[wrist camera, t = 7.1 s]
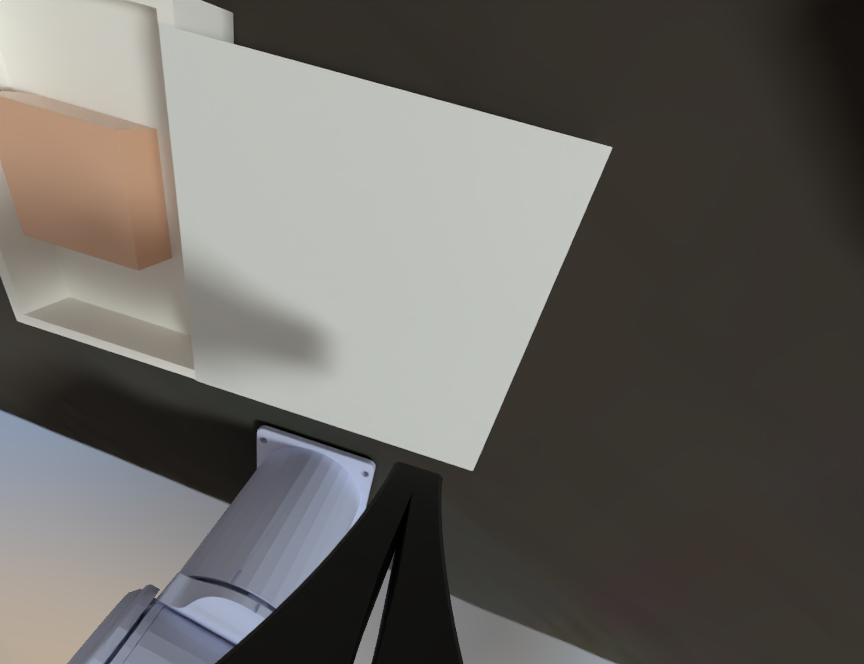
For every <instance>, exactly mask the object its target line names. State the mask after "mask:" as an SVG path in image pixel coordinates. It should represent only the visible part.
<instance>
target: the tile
mask: <svg viewBox="0 0 864 664" xmlns="http://www.w3.org/2000/svg"><path fill="white" fill-rule="evenodd" d="M0 162H1V165H2V168H3V171H4V174H5V178H6V181H7V184H8V187H9V190H10V193H11V196H12V200H13V203H14V206H15V209H16V212H17V215H18V219H19V222H20V225H21V228H22V231H23V234H24V235H26V236H29V237H33V238H36V239H39V240H42V241H45V242H49V243H52V244H55V245H58V246H61V247H64V248H68V249H71V250H74V251H77V252H80V253H84V254H87V255H90V256H93V257H96V258H100V259H103V260H106V261H109V262H112V263H116V264H119V265H122V266H125V267H128V268H132V269H135V270H138V271H140V270H142V269H145V268H147V267H150V266H152V265H155V264H158V263H160V262H163V261H165V260H168V259H171V258H172V253H171V245H170V236H169V228H168V219H167V211H166V203H165V194H164V186H163V178H162V169H161V161H160V152H159V144H158V136H157V129H155V128H151V127H148V126H144V125H141V124H137V123H134V122H131V121H127V120H124V119H120V118H117V117H113V116H110V115H106V114H103V113H100V112H96V111H93V110H89V109H86V108H82V107H79V106H75V105H72V104H69V103H65V102H62V101H58V100H55V99H51V98H48V97H44V96H41V95H38V94H34V93H24V92H9V91H0Z"/></svg>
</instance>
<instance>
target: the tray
mask: <svg viewBox="0 0 864 664" xmlns="http://www.w3.org/2000/svg"><path fill="white" fill-rule="evenodd" d="M159 24H162V25H166V26H169V27H173V28H177V29H180V30H184V31H188V32H191V33H195V34H199V35H202V36H206V37H210V38H213V39H217V40H221V41H224V42H228V43H232V44H234V33H233V13H232V12H229V11H227V10H224V9H222V8H219V7H217V6H214V5H212V4H209V3H207V2H204V1H201V0H0V91H9V92H24V93H34V94H38V95H41V96H44V97H48V98H51V99H55V100H58V101H62V102H65V103H69V104H72V105H75V106H79V107H82V108H86V109H89V110H93V111H96V112H100V113H103V114H106V115H110V116H113V117H117V118H120V119H124V120H127V121H131V122H134V123H137V124H141V125H144V126H148V127H151V128H155V129H157V136H158V144H159V152H160V161H161V169H162V178H163V186H164V194H165V203H166V211H167V219H168V228H169V236H170V245H171V253H172V258H171V259H168V260H165V261H163V262H160V263H158V264H155V265H152V266H150V267H147V268H145V269H142V270H140V271H138V270H135V269H132V268H128V267H125V266H122V265H119V264H116V263H112V262H109V261H106V260H103V259H100V258H96V257H93V256H90V255H87V254H84V253H80V252H77V251H74V250H71V249H68V248H64V247H61V246H58V245H55V244H52V243H49V242H45V241H42V240H39V239H36V238H33V237H29V236H26V235H24V234H23V231H22V228H21V225H20V222H19V219H18V215H17V212H16V209H15V206H14V203H13V200H12V196H11V193H10V190H9V187H8V184H7V181H6V178H5V174H4V171H3V168H2V165H1V162H0V276H1V279H2V282H3V284H4V287H5V290H6V292H7V295H8V298H9V300H10V303H11V306H12V309H13V311H14V314H15V317H16V319H17V321H19V322H22V323H25V324H28V325H31V326H34V327H37V328H40V329H43V330H46V331H49V332H52V333H56V334H59V335H62V336H65V337H68V338H71V339H74V340H77V341H80V342H83V343H86V344H89V345H92V346H95V347H98V348H101V349H105V350H108V351H111V352H114V353H117V354H120V355H123V356H126V357H129V358H132V359H135V360H138V361H141V362H144V363H147V364H150V365H154V366H157V367H160V368H163V369H166V370H169V371H172V372H175V373H178V374H181V375H184V376H187V377H190V378H193V379H196V377H195V368H194V358H193V349H192V339H191V330H190V320H189V311H188V301H187V291H186V282H185V272H184V263H183V253H182V244H181V234H180V225H179V215H178V206H177V196H176V187H175V177H174V167H173V158H172V148H171V139H170V129H169V120H168V110H167V101H166V91H165V82H164V72H163V63H162V53H161V43H160V34H159Z"/></svg>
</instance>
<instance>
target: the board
mask: <svg viewBox="0 0 864 664" xmlns="http://www.w3.org/2000/svg"><path fill="white" fill-rule="evenodd" d="M159 34H160V43H161V53H162V63H163V72H164V82H165V91H166V101H167V110H168V120H169V129H170V139H171V148H172V158H173V167H174V177H175V187H176V196H177V206H178V215H179V225H180V234H181V244H182V253H183V263H184V272H185V282H186V291H187V301H188V311H189V320H190V330H191V339H192V349H193V358H194V368H195V377H196V381H199V382H202V383H205V384H208V385H211V386H214V387H217V388H220V389H223V390H226V391H229V392H232V393H235V394H238V395H241V396H244V397H248V398H251V399H254V400H257V401H260V402H263V403H266V404H269V405H272V406H275V407H278V408H281V409H284V410H287V411H290V412H293V413H296V414H300V415H303V416H306V417H309V418H312V419H315V420H318V421H321V422H324V423H327V424H330V425H333V426H336V427H339V428H342V429H345V430H349V431H352V432H355V433H358V434H361V435H364V436H367V437H370V438H373V439H376V440H379V441H382V442H385V443H388V444H391V445H394V446H397V447H401V448H404V449H407V450H410V451H413V452H416V453H419V454H422V455H425V456H428V457H431V458H434V459H437V460H440V461H443V462H446V463H450V464H453V465H456V466H459V467H462V468H465V469H468V470H471V471H473V470H474V467H475V465H476V463H477V460H478V458H479V456H480V453H481V451H482V449H483V446H484V444H485V442H486V439H487V437H488V435H489V432H490V430H491V428H492V426H493V423H494V421H495V419H496V416H497V414H498V412H499V409H500V407H501V405H502V402H503V400H504V398H505V395H506V393H507V391H508V388H509V386H510V384H511V382H512V379H513V377H514V375H515V372H516V370H517V368H518V365H519V363H520V361H521V358H522V356H523V354H524V351H525V349H526V347H527V344H528V342H529V340H530V338H531V335H532V333H533V331H534V328H535V326H536V324H537V321H538V319H539V317H540V314H541V312H542V310H543V307H544V305H545V303H546V300H547V298H548V296H549V293H550V291H551V289H552V287H553V284H554V282H555V280H556V277H557V275H558V273H559V270H560V268H561V266H562V263H563V261H564V259H565V256H566V254H567V252H568V249H569V247H570V245H571V243H572V240H573V238H574V236H575V233H576V231H577V229H578V226H579V224H580V222H581V219H582V217H583V215H584V212H585V210H586V208H587V205H588V203H589V201H590V199H591V196H592V194H593V192H594V189H595V187H596V185H597V182H598V180H599V178H600V175H601V173H602V171H603V168H604V166H605V164H606V161H607V159H608V157H609V154H610V152H611V150H612V148H613V147H609V146H605V145H602V144H598V143H594V142H591V141H587V140H583V139H580V138H576V137H572V136H569V135H565V134H561V133H558V132H554V131H550V130H547V129H543V128H539V127H536V126H532V125H528V124H525V123H521V122H517V121H514V120H510V119H506V118H503V117H499V116H495V115H492V114H488V113H484V112H481V111H477V110H473V109H470V108H466V107H462V106H459V105H455V104H451V103H448V102H444V101H440V100H437V99H433V98H429V97H426V96H422V95H418V94H415V93H411V92H407V91H404V90H400V89H397V88H393V87H389V86H386V85H382V84H378V83H375V82H371V81H367V80H364V79H360V78H356V77H353V76H349V75H345V74H342V73H338V72H334V71H331V70H327V69H323V68H320V67H316V66H312V65H309V64H305V63H301V62H298V61H294V60H290V59H287V58H283V57H279V56H276V55H272V54H268V53H265V52H261V51H257V50H254V49H250V48H246V47H243V46H239V45H235V44H232V43H228V42H224V41H221V40H217V39H213V38H210V37H206V36H202V35H199V34H195V33H191V32H188V31H184V30H180V29H177V28H173V27H169V26H166V25H162V24H159Z"/></svg>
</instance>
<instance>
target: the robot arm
mask: <svg viewBox="0 0 864 664" xmlns="http://www.w3.org/2000/svg"><path fill="white" fill-rule="evenodd" d="M374 471H375V464H374V462H373V461H371V460H369V459H366V458H363V457H360V456H357V455H354V454H351V453H348V452H345V451H342V450H339V449H336V448H333V447H330V446H327V445H324V444H321V443H318V442H315V441H312V440H309V439H306V438H303V437H300V436H297V435H294V434H291V433H288V432H285V431H282V430H278V429H275V428H272V427H269V426H266V425H263V426H261V427H260V428H259V429H258V430H257V470H256V471H255V473H254V474H253V475H252V477H251V478H250V479H249V481H248V482H247V483H246V485H245V486H244V487H243V489H242V490H241V491H240V493H239V494H238V495H237V497H236V498H235V499H234V501H233V502H232V503H231V504H230V506H229V507H228V508H227V510H226V511H225V512H224V514H223V515H222V516H221V518H220V519H219V520H218V522H217V523H216V524H215V526H214V527H213V528H212V530H211V531H210V533H209V534H208V535H207V536H206V538H205V539H204V540H203V541H202V543H201V544H200V546H199V547H198V548H197V549H196V551H195V552H194V554H193V555H192V556H191V557H190V559H189V560H188V561H187V563H186V564H185V565H184V567H183V568H182V569H181V571H180V572H179V573H177V575H176V576H175V577H174V578H173V579H172V581H171V582H170V583H169V584H168V585H167V587H166V588H165V589H164V590H163V591H162V593H161V594H160V595H159V596H158V598H157V599H156V598H154V597H155V595H156V594H157V593H158V591H159V590H160V589H158V588H157V587H155V586H153V585H147V586H146V587H144V588H143V589H138V590H135V591H132V592H130V593H128V594H127V595H126V596H125V597H124V598H123V599H122V600H121V601H120V603H118V604H117V606H116V607H115V608H114V609H113V610H112V611H111V612H110V614H109V615H108V616H107V617H106V618H105V619H104V621H103V622H102V623H101V624H100V625H99V626H98V628H97V629H96V630H95V631H94V633H93V634H92V635H91V636H90V637H89V638H88V640H87V641H86V642H85V643H84V644H83V645H82V647H81V648H80V649H79V650H78V651H77V653H76V654H75V655H74V656H73V657H72V659H71V660H70V661H69V662H68V664H353V663H354V660H355V657H356V653H357V651H358V648H359V644H360V641H361V639H362V636H363V633H364V631H365V628H366V625H367V623H368V620H369V617H370V615H371V612H372V610H373V607H374V604H375V601H376V599H377V596H378V594H379V591H380V589H381V586H382V583H383V580H384V578H385V576H386V573H387V570H388V568H389V565H390V562H391V560H392V557H393V554H394V552H395V555H394V559H393V564H392V569H391V574H390V580H389V584H388V589H387V594H386V599H385V605H384V609H383V614H382V619H381V624H380V629H379V634H378V639H377V643H376V647H375V651H374V656H373V660H372V663H371V664H463V660H462V656H461V651H460V647H459V643H458V637H457V632H456V628H455V622H454V617H453V612H452V606H451V600H450V593H449V587H448V580H447V573H446V565H445V556H444V546H443V535H442V517H441V491H442V480H443V478H442V477H441V475H440V474H437V473H433V472H430V471H427V470H424V469H421V468H418V467H414V466H411V465H408V464H405V463H402V462H396V463H394V465H393V467H392V469H391V471H390V473H389V475H388V477H387V478H386V480H385V482H384V483H383V485H382V486H381V488H380V490H379V491H378V492H377V494H376V495H375V497H374V498H373V500H372V501H371V503H370V504H369V505H368V507H367V508H366V505H367V501H368V497H369V493H370V488H371V484H372V480H373V475H374ZM395 549H396V550H395Z"/></svg>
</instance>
